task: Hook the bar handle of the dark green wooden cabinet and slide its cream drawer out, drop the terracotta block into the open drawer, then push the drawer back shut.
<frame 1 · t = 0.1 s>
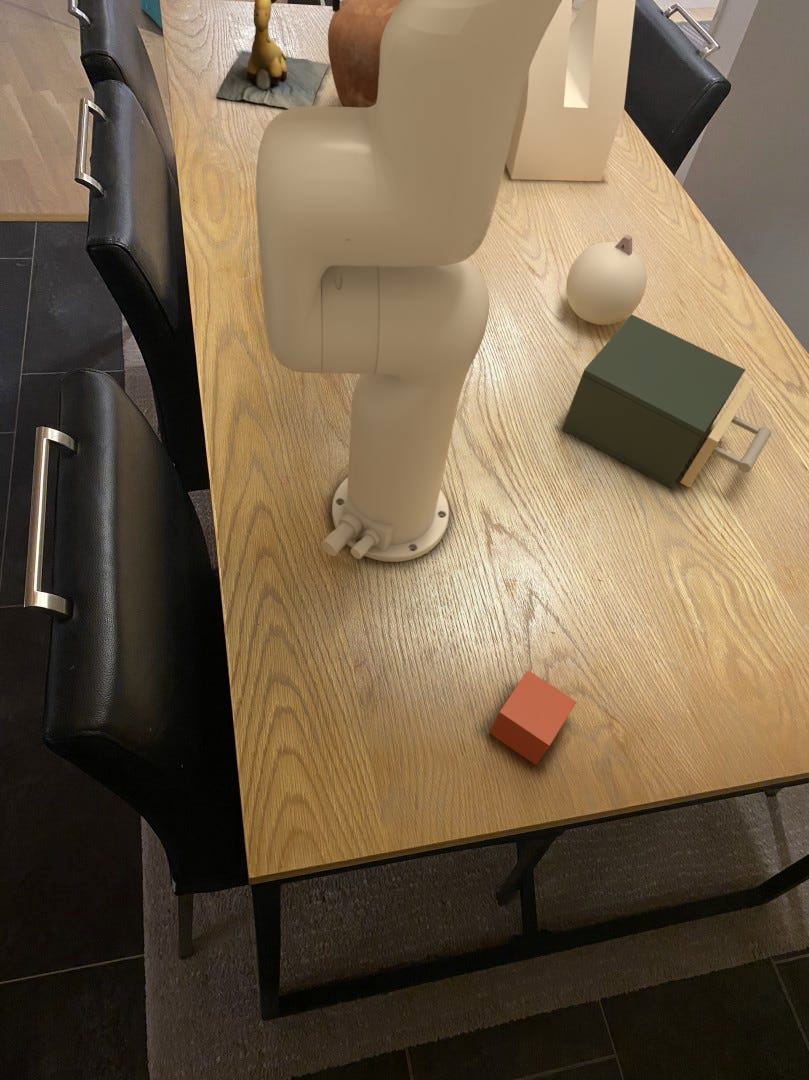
hand: (380, 9, 82), 31 cm above the table, tool pointing down, fingers open, 9 cm apart
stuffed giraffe: (274, 82, 135), on the table
cabinet: (637, 428, 93), on the table
cream boxy piece: (543, 150, 130), on the table
camera: (324, 323, 99), on the table
ornament: (594, 316, 105), on the table
lunch box: (486, 73, 145), on the table
block: (525, 727, 70), on the table
pottery: (395, 130, 129), on the table
drawer: (685, 418, 88), point 5 cm above the table, slide at 0.5 cm
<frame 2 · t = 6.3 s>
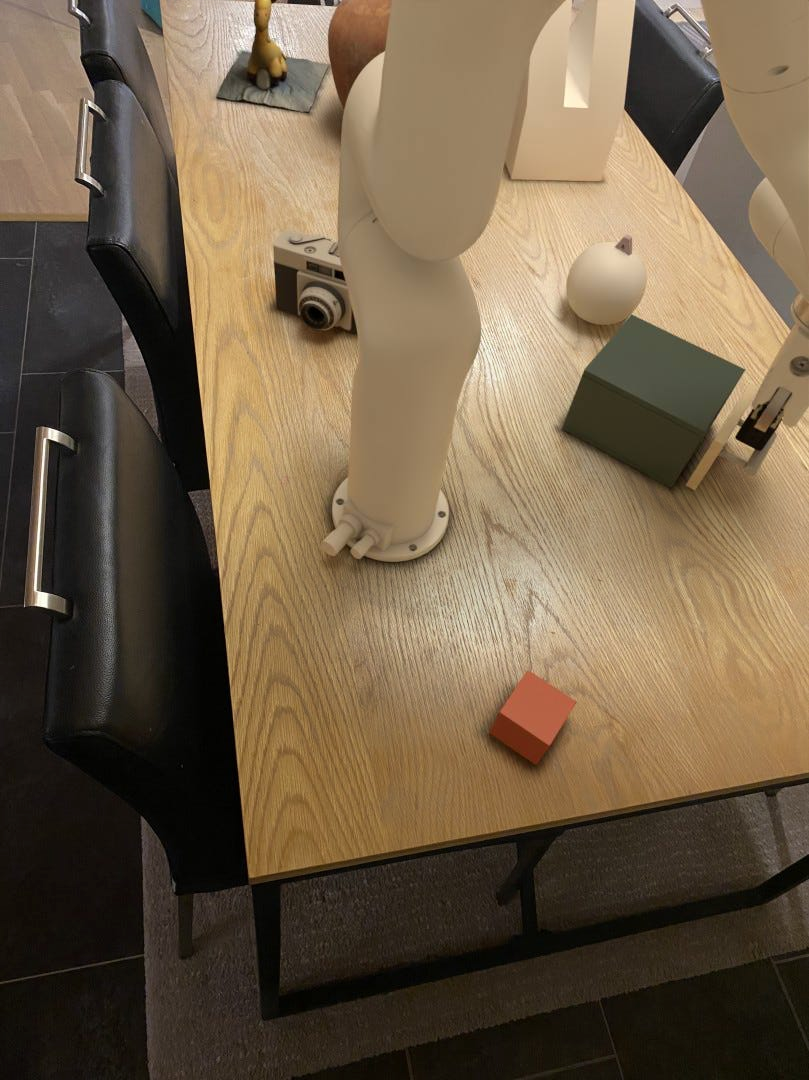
hand: (749, 440, 86), 6 cm above the table, tool pointing down, fingers closed
drawer: (691, 420, 88), point 5 cm above the table, slide at 1.2 cm, touching gripper
everything else where it was.
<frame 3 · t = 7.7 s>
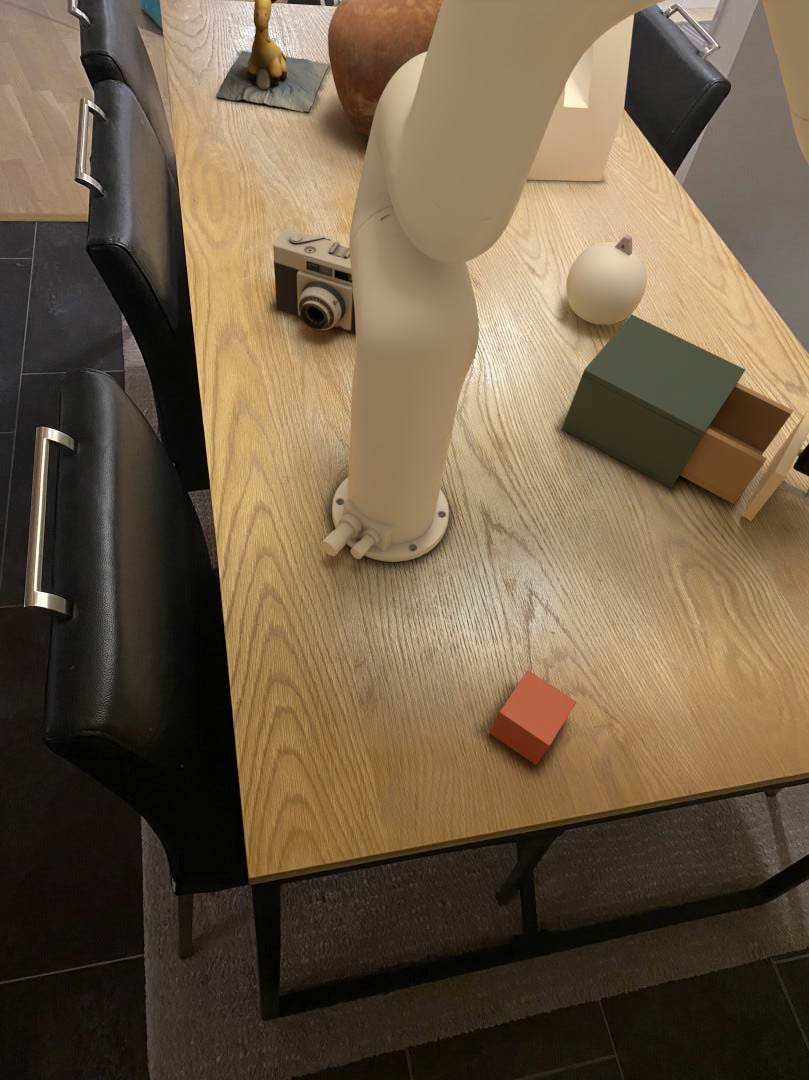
hand: (808, 470, 84), 6 cm above the table, tool pointing down, fingers closed
drawer: (746, 449, 86), point 5 cm above the table, slide at 8.1 cm, touching gripper
everything else where it was.
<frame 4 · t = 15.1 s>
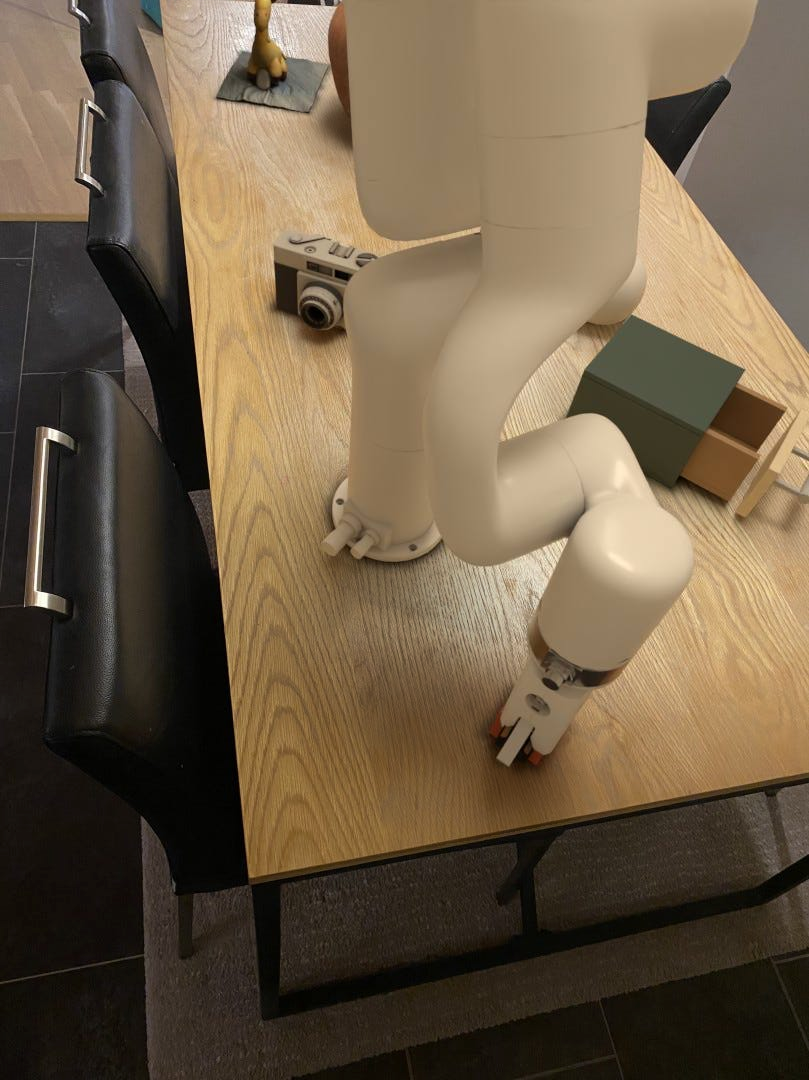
hand: (526, 726, 69), 0 cm above the table, tool pointing down, fingers closed on block, 5 cm apart
block: (525, 727, 70), on the table, touching gripper
drawer: (741, 446, 86), point 5 cm above the table, slide at 7.4 cm
everything else where it was.
when the fingers open (8 cm above the table, at t = 22.5 s): block drops 6 cm, resting on drawer.
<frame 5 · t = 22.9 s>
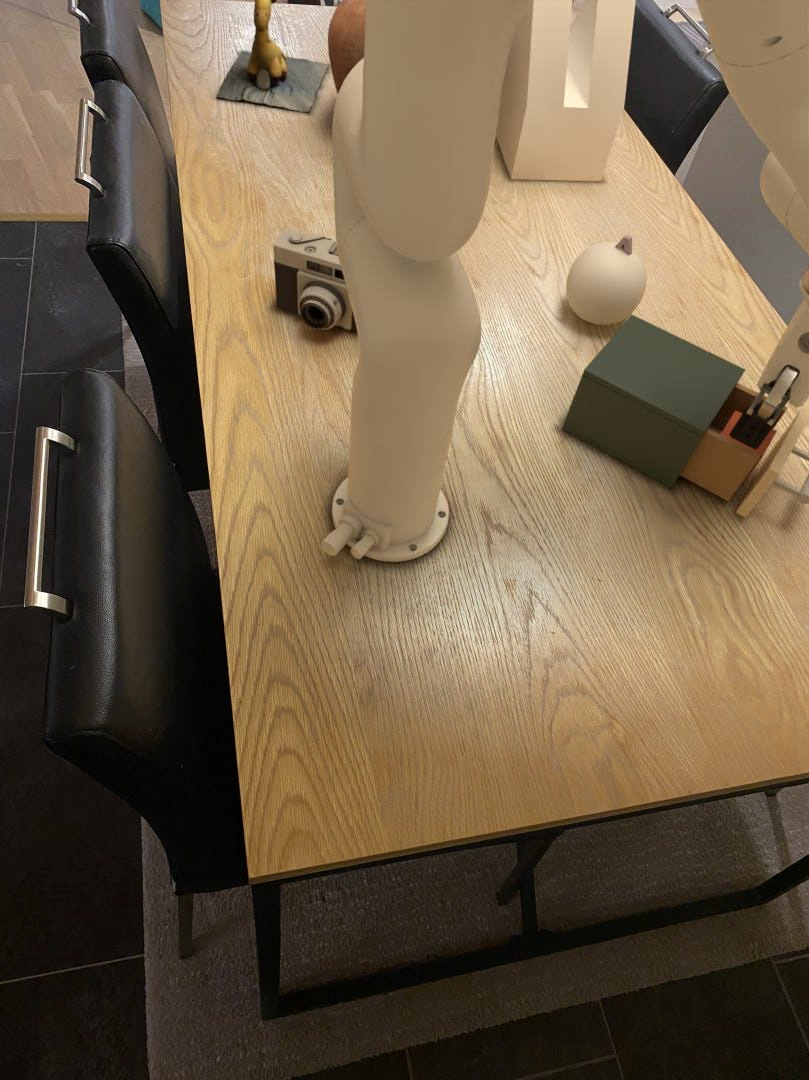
hand: (757, 416, 83), 9 cm above the table, tool pointing down, fingers open, 8 cm apart
block: (729, 462, 89), point 2 cm above the table, touching drawer
drawer: (741, 446, 86), point 5 cm above the table, slide at 7.4 cm, touching block
everything else where it was.
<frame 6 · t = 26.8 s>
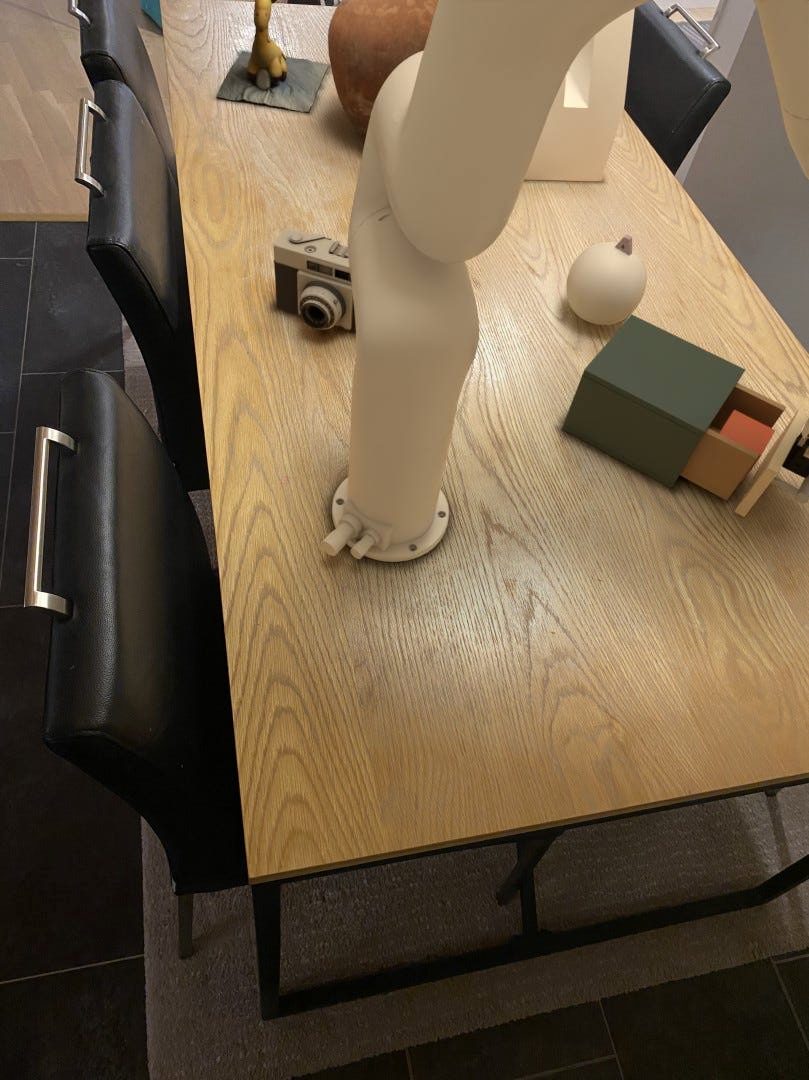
hand: (794, 467, 84), 6 cm above the table, tool pointing down, fingers closed
drawer: (739, 445, 87), point 5 cm above the table, slide at 7.2 cm, touching block, gripper
everything else where it was.
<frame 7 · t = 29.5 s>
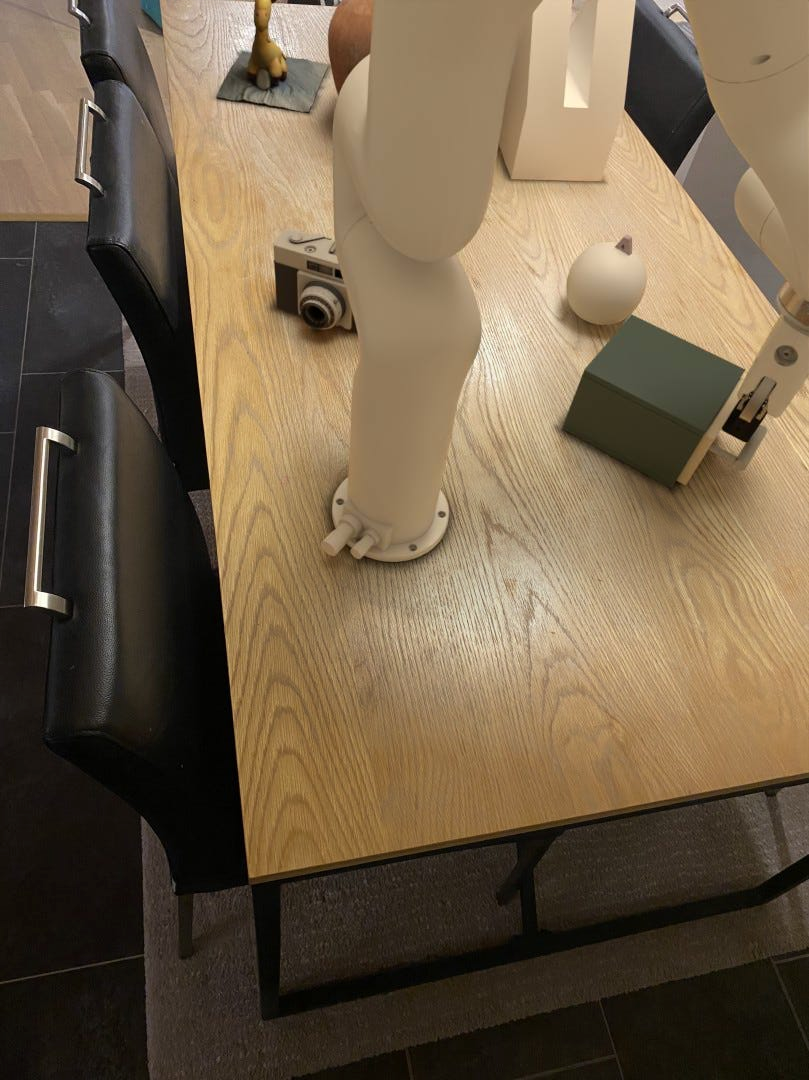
hand: (736, 432, 85), 6 cm above the table, tool pointing down, fingers closed
block: (671, 432, 91), point 2 cm above the table, touching drawer
drawer: (681, 415, 88), point 5 cm above the table, slide at 0.0 cm, touching block, cabinet, gripper
everything else where it was.
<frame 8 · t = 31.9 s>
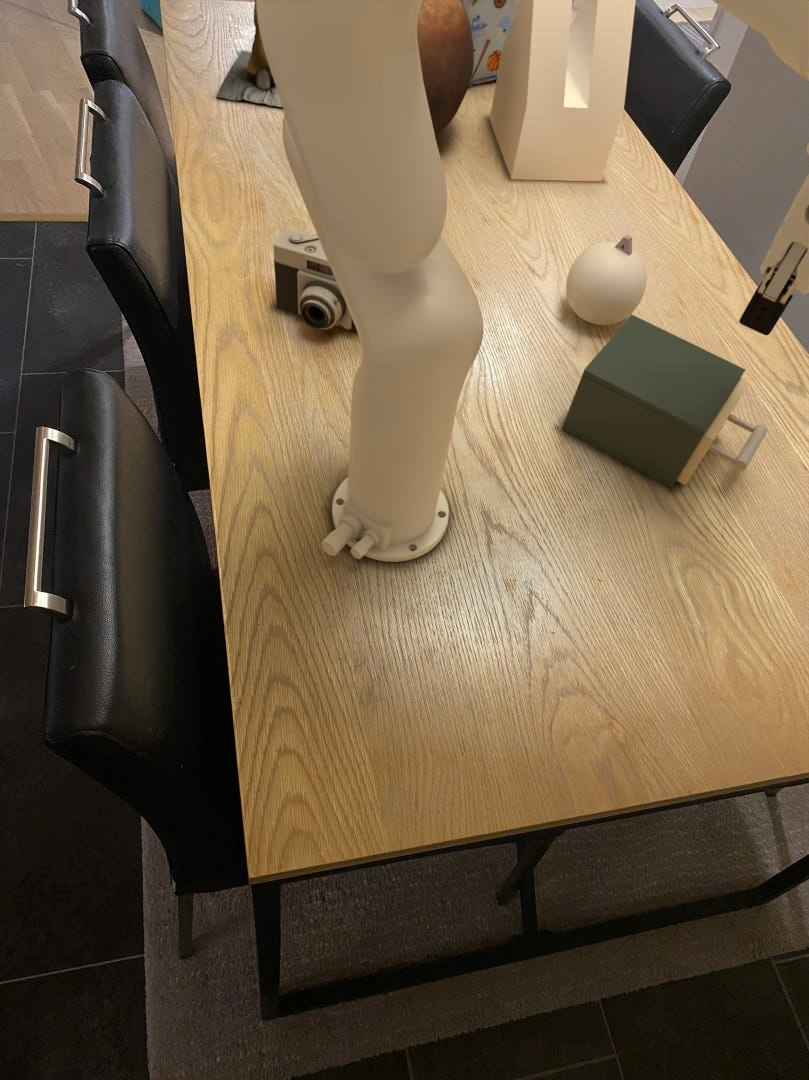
hand: (755, 325, 76), 19 cm above the table, tool pointing down, fingers closed
drawer: (682, 415, 88), point 5 cm above the table, slide at 0.0 cm, touching block
everything else where it was.
at the end: drawer pulled out 8.2 cm at the most during the clip, back to where it started at the end; block inside the target area in the cabinet (3.8 cm from its centre), point 2.0 cm above the cabinet's base; drawer slide at 0.0 cm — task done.
